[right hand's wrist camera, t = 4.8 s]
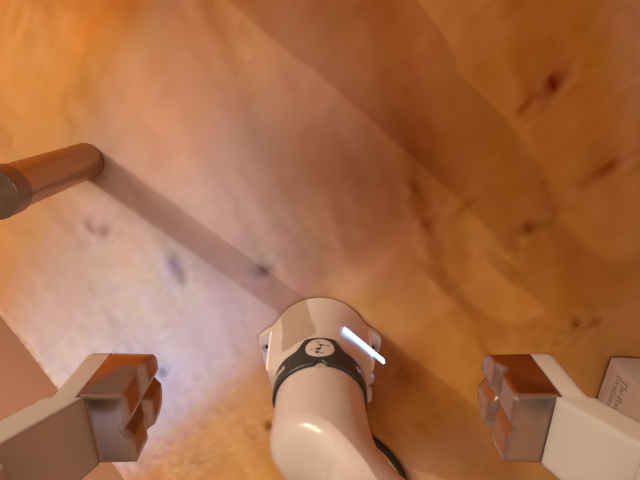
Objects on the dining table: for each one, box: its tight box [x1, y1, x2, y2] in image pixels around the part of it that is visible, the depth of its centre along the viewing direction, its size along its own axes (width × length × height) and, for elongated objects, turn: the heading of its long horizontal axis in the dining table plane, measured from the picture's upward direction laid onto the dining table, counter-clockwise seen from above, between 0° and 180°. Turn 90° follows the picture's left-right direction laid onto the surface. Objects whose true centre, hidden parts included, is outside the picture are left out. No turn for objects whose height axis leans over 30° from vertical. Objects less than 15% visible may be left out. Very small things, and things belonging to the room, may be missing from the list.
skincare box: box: [597, 358, 640, 421], centre depth 64 cm, size 21×6×16 cm, turn 178°
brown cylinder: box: [6, 143, 104, 205], centre depth 49 cm, size 4×4×17 cm
